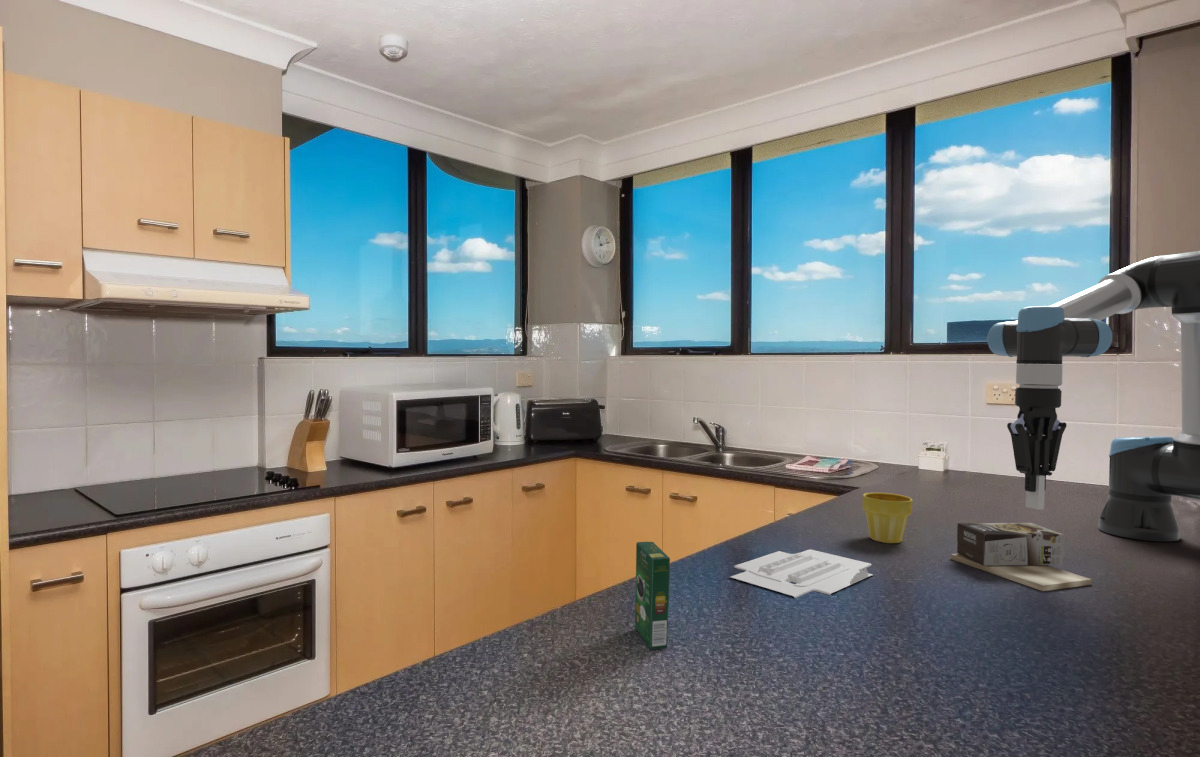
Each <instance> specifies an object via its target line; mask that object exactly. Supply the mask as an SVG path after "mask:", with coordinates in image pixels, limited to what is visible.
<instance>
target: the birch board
mask: <svg viewBox="0 0 1200 757" xmlns="http://www.w3.org/2000/svg"><path fill="white" fill-rule="evenodd" d="M950 560H953V561H955V562H958V563H961V564H963V565H967V566H969V567H972V568H975V569H979V570H980V571H984V572H987V573H990V574H992V575H996V576H998V577H1001V578H1004V579H1007V580H1010V581H1013V582H1014V583H1017V584H1018V583H1019V584H1020V585H1021V584H1022V585H1024V586H1027V587H1030V588H1032V589H1036V590H1038V591H1040V592H1046V591H1047V592H1048V591H1049V592H1050V591H1054V590H1062V589H1069V588H1077V587H1083V586H1090V585H1091V586H1092V582H1093V581H1092V578H1089V577H1086V576H1083V575H1079V574H1076V573H1073V572H1070V571H1066V570H1063V569H1060V568H1058V567H1054V566H1052V565H1027V566H983V565H981V564H979V563H977V562H975V561H973V560H971V559H969V558H967V557H965V556H963V555H961V554H959V553H957V552H956V553H950Z"/></svg>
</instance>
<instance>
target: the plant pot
mask: <svg viewBox="0 0 1200 757" xmlns="http://www.w3.org/2000/svg"><path fill="white" fill-rule="evenodd" d="M861 499H862V500H861V502H862V505H861V506H862V510H863V511H864V512H865V517H866V521H867V528H868V534H869V538H870V539H872V541H874V542H875V541H876V542H880V543H883V544H884V543H885V544H900V543H902V541H903V538H904V534H905V531H906V528H907V527H906V526H907V523H908V520H909V516H911V515H912V513H913V501H914V500H913V499H912V498H911V497H910V496H906V495H902V494H897V493H889V492H865V493H863V494H862V498H861Z"/></svg>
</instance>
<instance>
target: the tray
mask: <svg viewBox="0 0 1200 757" xmlns="http://www.w3.org/2000/svg"><path fill="white" fill-rule="evenodd" d="M871 566H872V563H870V562H865V561H862V560H858V559H852V558H849V557H844V556H841V555H836V554H832V553H827V552H824V551H823V552H822V551H819V550H815V549H806V550H804V551H801V552H797V553H789V552H784V551H780V550H778V551H775V552H772V553H769V554H766V555H762V556H761V557H757V558H754V559H751V560H748V561H745V562H742V563H738V564H735V565H734V566H733V568H735V569H736V570H737V569H738V570H741V571H744V572H739V573H737V574H734V575H731V576H729V577H728V578H729V579H730V578H731V579H736V580H737V581H742V582H746V583H748V584H751V585H755V586H759V587H762V588H766V589H768V590H770V591H771V590H772V591H775V592H779V593H782V594H783V595H788V596H792V597H794V599H797V598H799V597H801V596H804V595H806V594H808V593H811V592H818V593H821V594H825V595H828V596H832V594H833V593H835V592H838V591H840V590H842V589H844V588H848V587H849V586H852V585H854V584H855V583H857V582H860V581H862V580H865V579H866V578H868V577H869V578H870V577H874V574H872V573H869V572H868V569H867V568H870V567H871Z"/></svg>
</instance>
